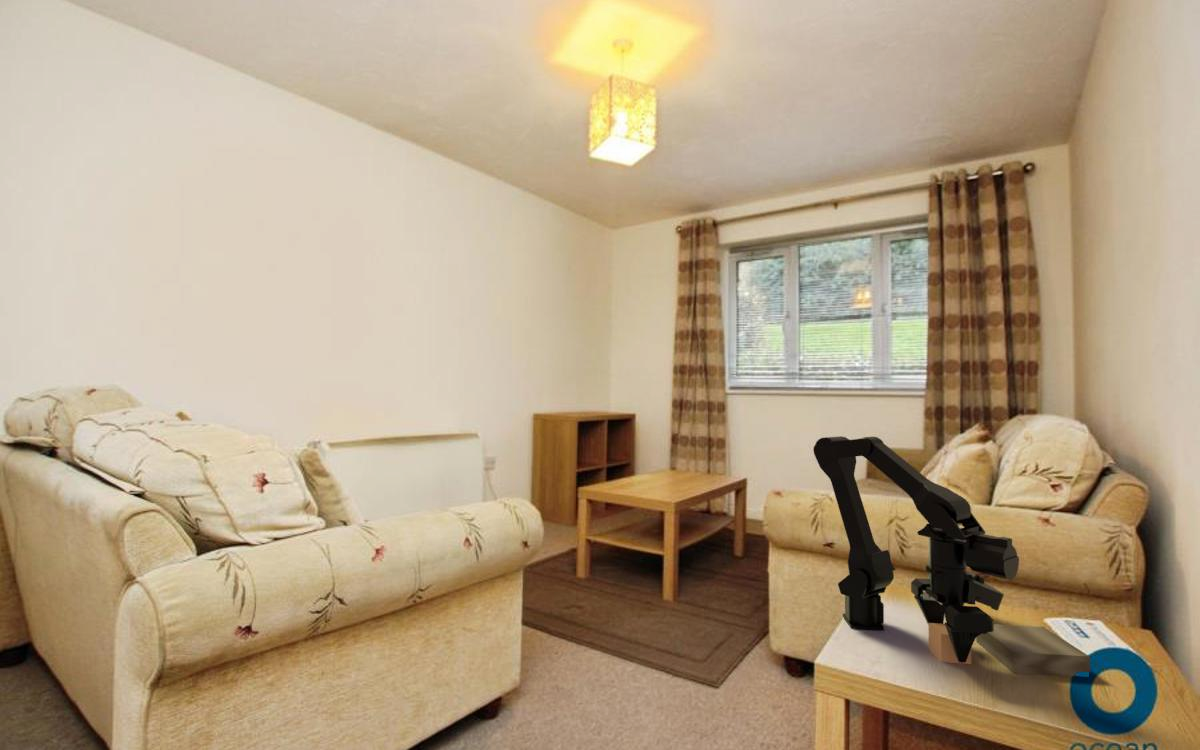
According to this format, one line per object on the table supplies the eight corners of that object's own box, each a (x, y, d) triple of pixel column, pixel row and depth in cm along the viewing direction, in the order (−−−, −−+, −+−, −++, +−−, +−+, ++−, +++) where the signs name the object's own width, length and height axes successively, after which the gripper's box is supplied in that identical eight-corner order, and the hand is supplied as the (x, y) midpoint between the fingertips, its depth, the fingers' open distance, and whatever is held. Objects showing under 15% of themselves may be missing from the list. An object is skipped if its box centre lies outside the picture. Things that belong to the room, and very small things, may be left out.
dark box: (1013, 675, 97) (1012, 651, 97) (976, 644, 109) (976, 623, 109) (1090, 680, 95) (1089, 656, 96) (1044, 648, 107) (1043, 627, 107)
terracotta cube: (941, 662, 101) (941, 634, 101) (928, 649, 106) (928, 622, 106) (971, 664, 100) (970, 635, 100) (957, 651, 105) (957, 624, 105)
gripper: (1027, 583, 93) (1028, 679, 93) (969, 551, 112) (970, 631, 111) (955, 580, 95) (956, 674, 94) (909, 549, 113) (910, 627, 113)
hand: (949, 650), depth 103 cm, fingers open, 9 cm apart
